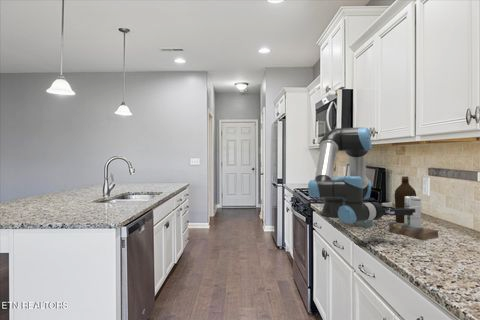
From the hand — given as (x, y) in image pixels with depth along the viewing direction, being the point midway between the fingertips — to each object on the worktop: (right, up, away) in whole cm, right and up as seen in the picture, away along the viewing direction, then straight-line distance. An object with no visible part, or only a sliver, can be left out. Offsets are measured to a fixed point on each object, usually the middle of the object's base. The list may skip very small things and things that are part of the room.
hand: (404, 207), depth 152 cm
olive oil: (+15, -12, +28) cm, 34 cm away
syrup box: (+5, -10, +3) cm, 12 cm away
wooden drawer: (+5, -13, +3) cm, 14 cm away
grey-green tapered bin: (-10, -13, +22) cm, 28 cm away
